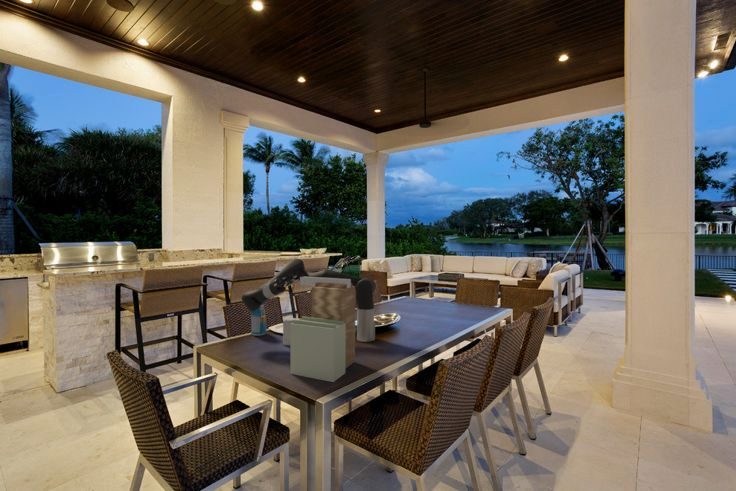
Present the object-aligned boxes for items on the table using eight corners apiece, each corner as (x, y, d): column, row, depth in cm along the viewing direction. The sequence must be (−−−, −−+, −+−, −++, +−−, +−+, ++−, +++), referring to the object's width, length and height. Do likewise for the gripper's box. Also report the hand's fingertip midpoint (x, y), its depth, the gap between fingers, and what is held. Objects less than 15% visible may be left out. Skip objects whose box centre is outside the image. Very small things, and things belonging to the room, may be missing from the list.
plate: (297, 322, 232) (297, 319, 232) (326, 329, 215) (326, 326, 215) (261, 331, 211) (261, 327, 211) (290, 339, 194) (290, 335, 194)
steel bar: (300, 284, 161) (300, 277, 161) (304, 283, 164) (304, 276, 164) (346, 288, 151) (346, 280, 151) (350, 287, 154) (350, 279, 154)
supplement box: (296, 346, 181) (296, 321, 181) (282, 345, 182) (282, 320, 182) (301, 342, 188) (301, 318, 188) (288, 341, 190) (288, 317, 189)
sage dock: (290, 373, 144) (290, 320, 144) (304, 365, 154) (304, 315, 153) (333, 382, 136) (333, 326, 136) (345, 373, 145) (345, 320, 145)
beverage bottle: (250, 336, 198) (250, 300, 197) (251, 332, 206) (251, 298, 206) (266, 335, 200) (266, 300, 200) (266, 331, 208) (266, 297, 208)
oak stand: (311, 365, 154) (311, 283, 153) (326, 357, 165) (326, 280, 164) (341, 370, 148) (342, 285, 147) (354, 361, 159) (355, 282, 158)
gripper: (261, 283, 171) (286, 269, 165) (280, 280, 184) (303, 267, 178) (267, 297, 170) (292, 284, 164) (285, 293, 183) (309, 280, 177)
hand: (298, 275), depth 171 cm, fingers open, 8 cm apart
